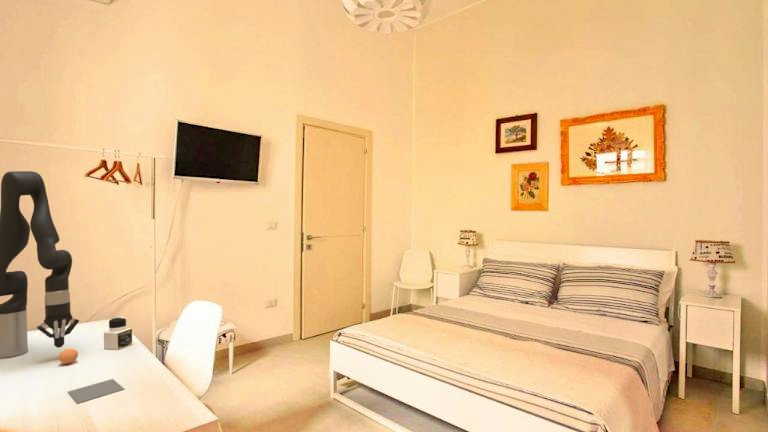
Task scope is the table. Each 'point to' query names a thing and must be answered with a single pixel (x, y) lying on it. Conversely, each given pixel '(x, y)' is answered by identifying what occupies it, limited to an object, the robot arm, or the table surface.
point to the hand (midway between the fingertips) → (59, 346)
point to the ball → (68, 356)
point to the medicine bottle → (117, 334)
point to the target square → (95, 391)
